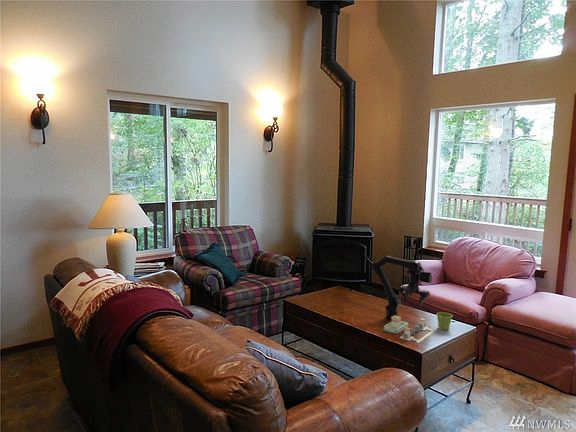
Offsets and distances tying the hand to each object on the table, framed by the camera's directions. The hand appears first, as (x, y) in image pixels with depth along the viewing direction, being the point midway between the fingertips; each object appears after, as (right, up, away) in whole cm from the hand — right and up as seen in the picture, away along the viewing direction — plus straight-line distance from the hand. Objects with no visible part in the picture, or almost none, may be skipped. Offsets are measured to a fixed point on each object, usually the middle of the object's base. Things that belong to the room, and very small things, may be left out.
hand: (413, 304), depth 262 cm
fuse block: (-2, -14, -17) cm, 22 cm away
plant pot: (+17, -13, -7) cm, 22 cm away
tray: (-13, -13, -9) cm, 20 cm away
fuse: (-13, -12, -9) cm, 20 cm away
